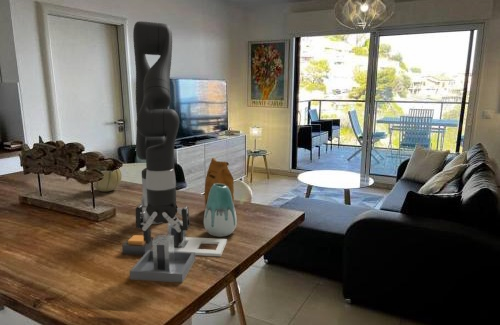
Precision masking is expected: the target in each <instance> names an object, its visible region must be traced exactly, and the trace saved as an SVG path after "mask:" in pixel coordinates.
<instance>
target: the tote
mask: <svg viewBox="0 0 500 325" xmlns="http://www.w3.org/2000/svg"><path fill="white" fill-rule="evenodd" d="M174 260H175V266H174V267H173V269H172V271H171V272H163V271H154V263H153V249H150V250H148V251H147V252H146V253H145V254H144V255H142V256H141V257H140V258H139V260H138V261H137V262H136V264H135V265H133V266H132V268H130V270H129V279H130V280H132V281H134V280H136V281H147V282H148V281H150V282H166V283H167V282H169V283H184V280H186V277H187V275H188V274H189V272H190V271H191V268H192V267H193V265H194V262H196V255H195V252H181V251H174Z"/></svg>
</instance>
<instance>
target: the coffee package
mask: <svg viewBox="0 0 500 325" xmlns="http://www.w3.org/2000/svg"><path fill="white" fill-rule="evenodd" d="M228 166H230V164H229V162H228V161H219V160H218V161H217V160H216V158H214V157H212V158H211V160H210V163H209V167H208V169H207V172H206V175H205V183H204V209H205V208H206V205H207V201H208V196H209V192H210V189H211V187H212V186H213V184H216V183H220V184H224V185H226V186H227V187H228V188H229V190H230V192H231V196H232V201H233V204H234V202H235V200H234V199H235V196H234V191H235V190H234V187H235V186H234V181H235V180H234V177H233V174H232V173H231V171H230V170H229V167H228ZM234 205H235V204H234Z"/></svg>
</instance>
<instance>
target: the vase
mask: <svg viewBox="0 0 500 325" xmlns="http://www.w3.org/2000/svg"><path fill="white" fill-rule="evenodd" d="M237 218H238V217H237V213H236V208H235V204H233V201H232V196H231V192H230V190H229V188H228V187H227V186H226V185H224V184H220V183H216V184H213V186H212V187H211V189H210V192H209V196H208V201H207V205H206V208H205V207H204V214H203V227H204V229H205V230H206V233H208V234H209V235H211V236H212V237H218V238H221V237H227V236H229V235H231V234H233V232H234V231H235V230H236V227H237V222H238V219H237Z"/></svg>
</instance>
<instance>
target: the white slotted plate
mask: <svg viewBox="0 0 500 325" xmlns="http://www.w3.org/2000/svg"><path fill="white" fill-rule="evenodd" d="M202 244H203V245H204V244H205V245H217V247H216V248H215V249H205V248H202V249H201V248H200V246H201V245H202ZM227 244H228V239H227V238H212V237H209V238H208V237H190V236H188V237H187V236H186V244H185V246H184V247H183V248H174V251H181V252H195V256H205V257H206V256H207V257H222V256H223V255H222V254H223V252H224V249H225V247H226V245H227Z"/></svg>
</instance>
